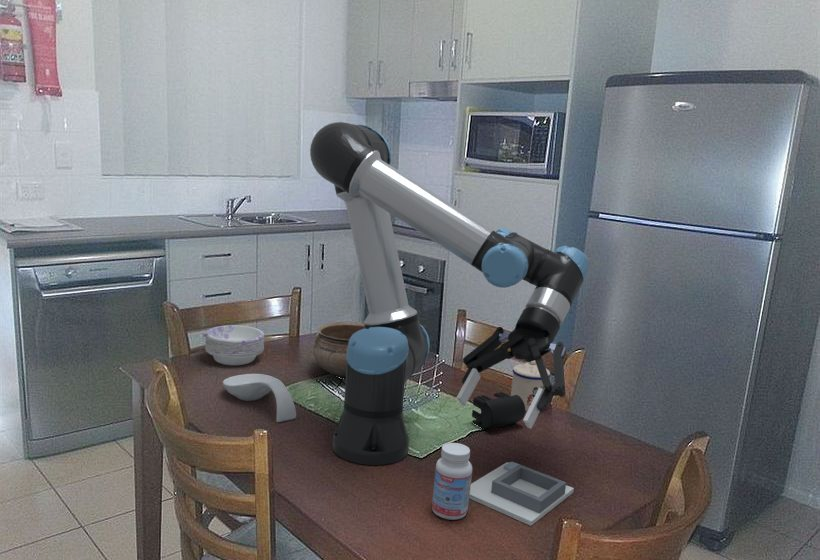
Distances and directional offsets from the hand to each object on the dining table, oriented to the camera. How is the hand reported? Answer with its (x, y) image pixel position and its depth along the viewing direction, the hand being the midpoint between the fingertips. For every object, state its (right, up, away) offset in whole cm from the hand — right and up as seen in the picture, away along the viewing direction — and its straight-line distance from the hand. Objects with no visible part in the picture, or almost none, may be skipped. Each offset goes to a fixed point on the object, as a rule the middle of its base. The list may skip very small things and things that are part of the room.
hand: (492, 412), depth 117 cm
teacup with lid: (+15, -7, +47) cm, 50 cm away
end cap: (+5, -9, +32) cm, 34 cm away
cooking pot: (-31, -2, +57) cm, 65 cm away
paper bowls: (-62, +1, +63) cm, 88 cm away
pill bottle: (-8, -15, -6) cm, 18 cm away
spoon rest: (-48, -5, +35) cm, 60 cm away
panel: (+5, -15, +2) cm, 16 cm away
